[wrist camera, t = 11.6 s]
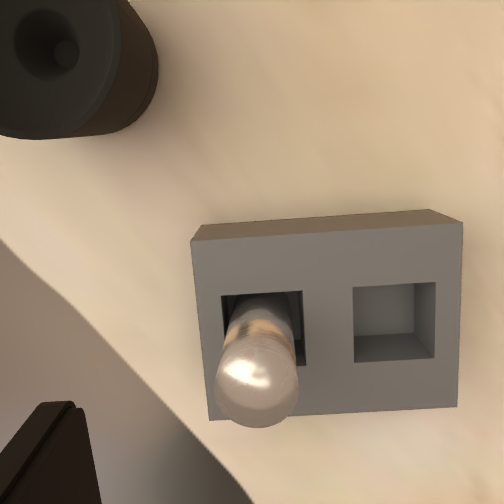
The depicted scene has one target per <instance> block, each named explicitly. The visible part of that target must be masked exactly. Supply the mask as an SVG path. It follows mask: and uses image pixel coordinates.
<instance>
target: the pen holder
mask: <svg viewBox="0 0 504 504" xmlns="http://www.w3.org/2000/svg"><path fill="white" fill-rule="evenodd" d="M157 80H158V58H157V53H156V48H155V45H154V42H153V40H152V37H151V35H150V33H149V31H148V29H147V28H146V26H145V25H144V23H143V22H142V20H141V19H140V17H139V16H138V14H137V13H136V12H135V10H134V9H133V7H132V6H131V5H130V4H129V2H128V1H127V0H0V135H3V136H6V137H12V138H18V139H28V140H45V139H60V138H72V137H84V136H95V135H103V134H108V133H113V132H116V131H118V130H121V129H123V128H125V127H127V126H129V125H130V124H132V123H133V122H134V121H136V120H137V119H138V118H139V117H140V116H141V115H142V114H143V112H144V111H145V110H146V109H147V107H148V105H149V104H150V102H151V100H152V98H153V95H154V93H155V89H156V86H157Z"/></svg>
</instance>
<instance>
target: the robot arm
mask: <svg viewBox="0 0 504 504" xmlns="http://www.w3.org/2000/svg"><path fill="white" fill-rule="evenodd" d="M0 504H102V503H101V497H100V492H99V486H98V481H97V476H96V471H95V465H94V460H93V455H92V449H91V445H90V439H89V433H88V428H87V423H86V418H85V413H84V411H83V409H82V408H76V406H75V404H74V402H72V401H55V402H43V403H40V404H39V405H38V406H37V407H36V409H35V410H34V411H33V413H32V414H31V415H30V416H29V417H28V419H27V420H26V421H25V423H24V424H23V425H22V426H21V428H20V429H19V430H18V431H17V433H16V434H15V435H14V437H13V438H12V439H11V440H10V442H9V443H8V444H7V445H6V447H5V448H4V449H3V450H2V452H1V453H0Z"/></svg>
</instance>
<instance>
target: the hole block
mask: <svg viewBox="0 0 504 504" xmlns="http://www.w3.org/2000/svg"><path fill="white" fill-rule="evenodd" d="M462 244H463V222H460V221H458V220H455V219H453V218H450V217H448V216H445V215H443V214H440V213H437V212H435V211H432V210H430V209H427V210H413V211H398V212H384V213H370V214H355V215H341V216H326V217H312V218H297V219H283V220H269V221H254V222H240V223H225V224H211V225H201V227H200V228H199V229H198V231H197V232H196V234H195V235H194V237H193V238H192V239H191V241H190V245H191V254H192V264H193V273H194V283H195V292H196V301H197V311H198V320H199V330H200V339H201V349H202V358H203V367H204V377H205V386H206V396H207V405H208V415H209V421H214V420H231V419H229V418H228V417H227V416H226V415H225V414H224V413H223V412H222V411H221V409H220V408H219V406H218V404H217V402H216V399H215V395H214V383H215V378H216V374H217V370H218V366H219V362H220V358H221V354H222V350H223V346H224V342H225V338H226V334H227V330H228V326H229V322H230V318H231V314H232V310H233V306H234V302H235V299H236V296H237V295H239V294H254V293H270V292H285V293H286V295H287V297H288V299H289V302H290V307H291V317H292V327H293V337H294V347H295V357H296V367H297V377H298V387H299V394H298V399H297V403H296V405H295V407H294V409H293V410H292V412H291V413H290V414H289V415H288V416H304V415H323V414H341V413H359V412H377V411H395V410H413V409H431V408H449V407H457V399H458V368H459V337H460V306H461V275H462Z"/></svg>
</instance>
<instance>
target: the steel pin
mask: <svg viewBox="0 0 504 504" xmlns="http://www.w3.org/2000/svg"><path fill="white" fill-rule="evenodd" d="M298 394H299V387H298V377H297V367H296V357H295V347H294V337H293V327H292V317H291V307H290V302H289V299H288V297H287V295H286V293H285V292H270V293H254V294H239V295H237V296H236V299H235V302H234V306H233V310H232V314H231V318H230V322H229V326H228V330H227V334H226V338H225V342H224V346H223V350H222V354H221V358H220V362H219V366H218V370H217V374H216V378H215V383H214V395H215V399H216V402H217V404H218V406H219V408H220V409H221V411H222V412H223V413H224V414H225V415H226V416H227V417H228V418H229V419H231V420H232V421H234V422H235V423H237V424H240V425H242V426H246V427H251V428H264V427H269V426H272V425H275V424H277V423H279V422H281V421H282V420H284V419H285V418H286V417H287V416H288V415H289V414H290V413H291V412H292V410H293V409H294V407H295V405H296V403H297V399H298Z"/></svg>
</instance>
